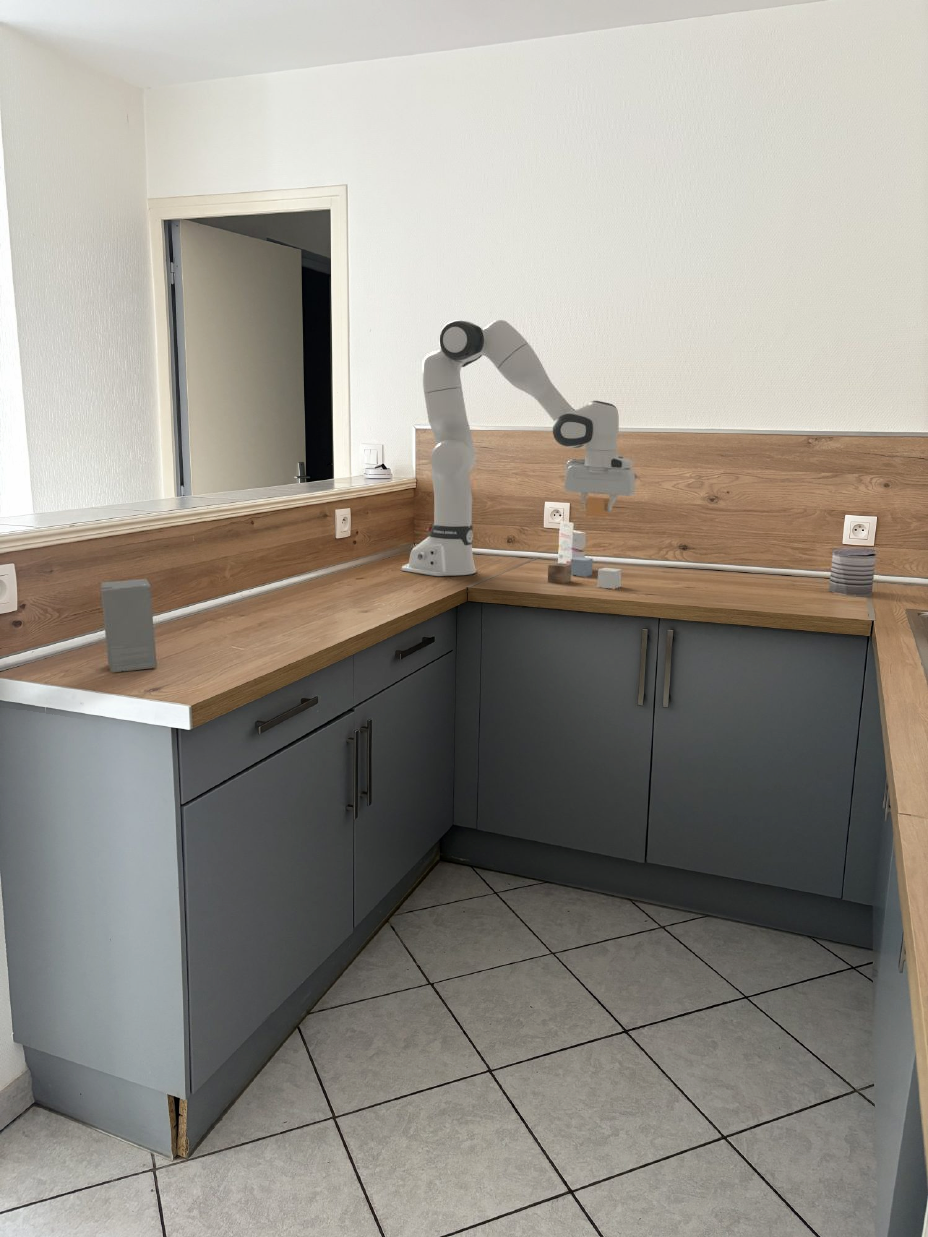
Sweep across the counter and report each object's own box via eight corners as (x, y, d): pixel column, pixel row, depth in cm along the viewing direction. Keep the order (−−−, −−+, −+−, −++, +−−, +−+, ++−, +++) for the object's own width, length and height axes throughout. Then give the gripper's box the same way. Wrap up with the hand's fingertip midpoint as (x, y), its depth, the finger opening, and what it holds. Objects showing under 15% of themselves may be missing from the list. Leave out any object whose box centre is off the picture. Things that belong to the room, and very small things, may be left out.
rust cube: (585, 515, 265) (586, 497, 264) (592, 514, 269) (593, 496, 268) (602, 517, 263) (603, 499, 262) (608, 515, 267) (609, 498, 266)
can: (876, 597, 253) (881, 553, 250) (832, 595, 255) (836, 551, 253) (867, 590, 264) (872, 547, 261) (825, 587, 266) (829, 545, 263)
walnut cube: (547, 582, 267) (548, 564, 266) (554, 579, 271) (555, 562, 270) (563, 584, 264) (564, 566, 263) (570, 581, 269) (571, 564, 268)
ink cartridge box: (585, 570, 287) (587, 522, 284) (571, 571, 285) (573, 523, 282) (570, 566, 295) (572, 519, 292) (556, 567, 293) (558, 520, 290)
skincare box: (153, 660, 176) (149, 577, 172) (157, 670, 169) (153, 584, 166) (105, 664, 172) (100, 579, 169) (107, 674, 166) (102, 586, 163)
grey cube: (597, 587, 260) (598, 569, 259) (603, 585, 264) (604, 567, 263) (614, 589, 257) (615, 571, 256) (620, 587, 262) (621, 569, 261)
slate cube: (570, 575, 278) (570, 559, 277) (576, 573, 283) (577, 557, 281) (585, 577, 276) (586, 560, 275) (591, 575, 280) (592, 558, 279)
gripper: (562, 458, 265) (559, 507, 268) (631, 462, 255) (627, 513, 258) (570, 458, 270) (568, 506, 273) (638, 461, 261) (635, 511, 264)
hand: (597, 509), depth 266 cm, fingers closed on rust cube, 5 cm apart
